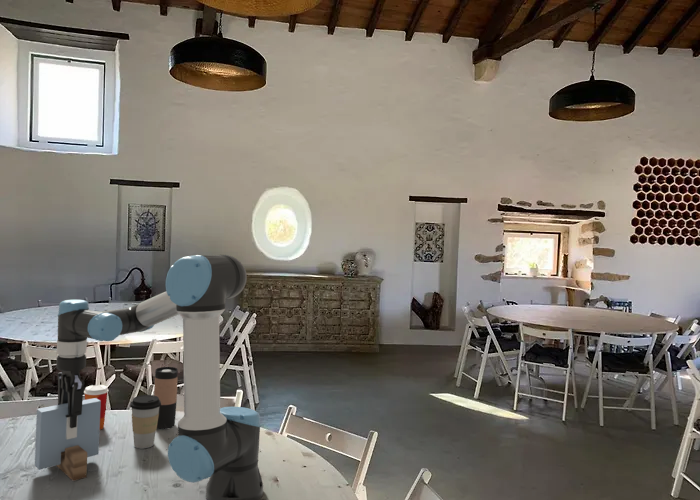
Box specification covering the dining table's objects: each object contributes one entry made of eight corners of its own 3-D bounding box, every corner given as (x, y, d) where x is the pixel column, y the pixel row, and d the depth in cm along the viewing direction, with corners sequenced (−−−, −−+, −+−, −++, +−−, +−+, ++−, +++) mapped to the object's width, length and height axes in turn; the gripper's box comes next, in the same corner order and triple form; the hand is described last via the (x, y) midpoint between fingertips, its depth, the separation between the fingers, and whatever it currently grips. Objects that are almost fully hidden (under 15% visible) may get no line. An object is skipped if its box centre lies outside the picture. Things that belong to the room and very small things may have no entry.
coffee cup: (148, 452, 171) (151, 405, 170) (121, 448, 173) (123, 401, 172) (165, 441, 180) (167, 396, 179) (139, 437, 182) (141, 392, 181)
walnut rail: (86, 477, 152) (87, 452, 152) (73, 481, 150) (74, 455, 150) (61, 456, 165) (62, 433, 164) (49, 459, 162) (50, 435, 162)
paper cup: (82, 425, 189) (84, 385, 189) (106, 423, 193) (108, 383, 192) (82, 433, 182) (83, 391, 182) (107, 431, 185) (109, 390, 185)
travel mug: (153, 422, 196) (155, 366, 195) (175, 421, 198) (178, 366, 197) (152, 430, 188) (154, 372, 188) (175, 429, 191) (178, 372, 190)
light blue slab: (98, 454, 162) (100, 400, 161) (39, 469, 150) (41, 412, 149) (93, 450, 164) (95, 397, 164) (34, 465, 152) (36, 408, 152)
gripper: (97, 358, 153) (93, 441, 154) (74, 347, 164) (70, 424, 165) (69, 362, 147) (65, 448, 148) (46, 350, 159) (43, 430, 160)
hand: (68, 435), depth 157 cm, fingers closed on light blue slab, 3 cm apart
